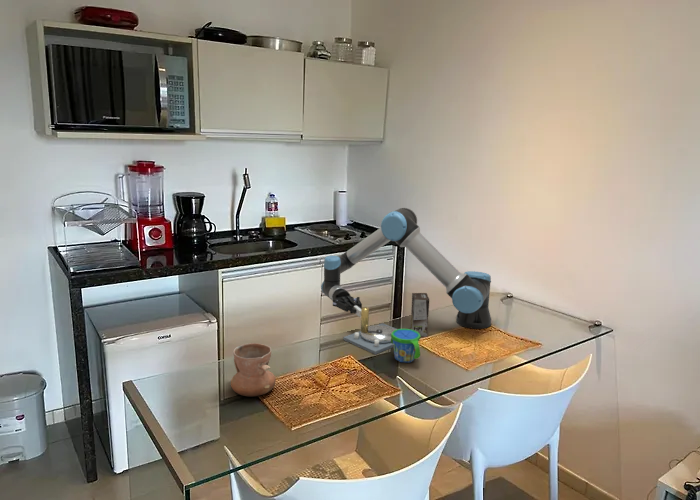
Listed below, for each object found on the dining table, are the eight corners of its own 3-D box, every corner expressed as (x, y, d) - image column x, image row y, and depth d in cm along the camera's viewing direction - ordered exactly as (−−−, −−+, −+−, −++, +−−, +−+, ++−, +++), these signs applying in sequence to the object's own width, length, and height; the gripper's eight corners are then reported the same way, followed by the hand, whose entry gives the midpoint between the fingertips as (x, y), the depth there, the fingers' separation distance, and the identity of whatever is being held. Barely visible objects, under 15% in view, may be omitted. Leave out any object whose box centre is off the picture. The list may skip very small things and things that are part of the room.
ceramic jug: (286, 392, 174) (286, 351, 170) (249, 407, 164) (247, 364, 161) (255, 373, 186) (254, 335, 183) (219, 387, 176) (217, 347, 173)
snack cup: (427, 365, 194) (429, 339, 192) (402, 370, 190) (403, 344, 187) (406, 348, 208) (407, 324, 205) (382, 352, 204) (383, 328, 201)
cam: (405, 336, 216) (406, 309, 213) (379, 346, 206) (380, 318, 203) (378, 325, 226) (379, 300, 223) (353, 334, 216) (353, 308, 213)
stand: (414, 338, 218) (414, 329, 217) (375, 354, 202) (375, 345, 201) (382, 325, 230) (382, 317, 229) (343, 339, 215) (343, 331, 214)
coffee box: (427, 336, 220) (429, 299, 216) (412, 336, 220) (413, 299, 216) (425, 328, 228) (427, 292, 224) (410, 327, 229) (411, 292, 225)
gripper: (352, 302, 242) (375, 320, 221) (326, 305, 237) (346, 324, 216) (353, 286, 240) (376, 303, 219) (326, 289, 235) (346, 307, 214)
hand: (361, 313), depth 217 cm, fingers closed
